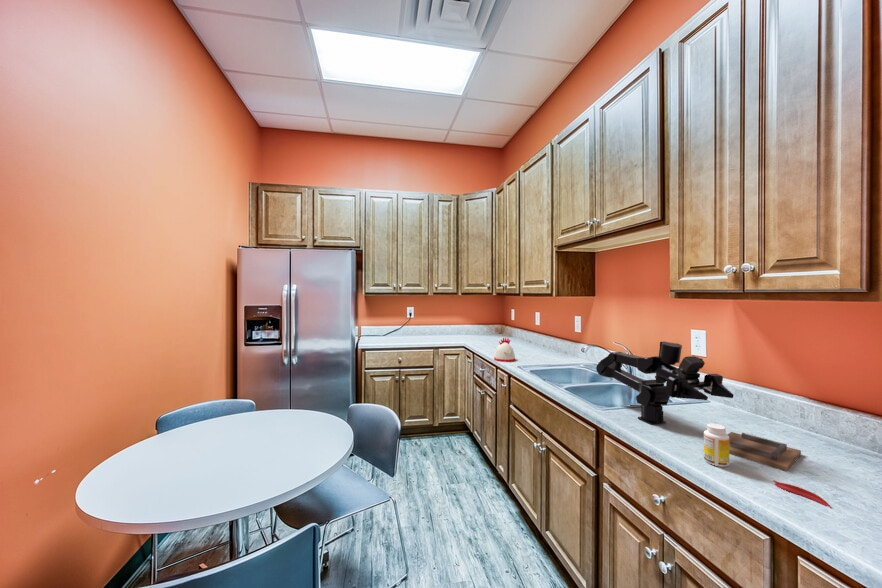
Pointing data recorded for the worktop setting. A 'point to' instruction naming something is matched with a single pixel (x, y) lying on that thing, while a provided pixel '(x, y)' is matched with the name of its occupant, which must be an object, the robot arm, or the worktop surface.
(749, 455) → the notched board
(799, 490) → the cayenne pepper
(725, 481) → the worktop surface
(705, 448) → the supplement bottle
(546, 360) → the worktop surface
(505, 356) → the cream dome hat
